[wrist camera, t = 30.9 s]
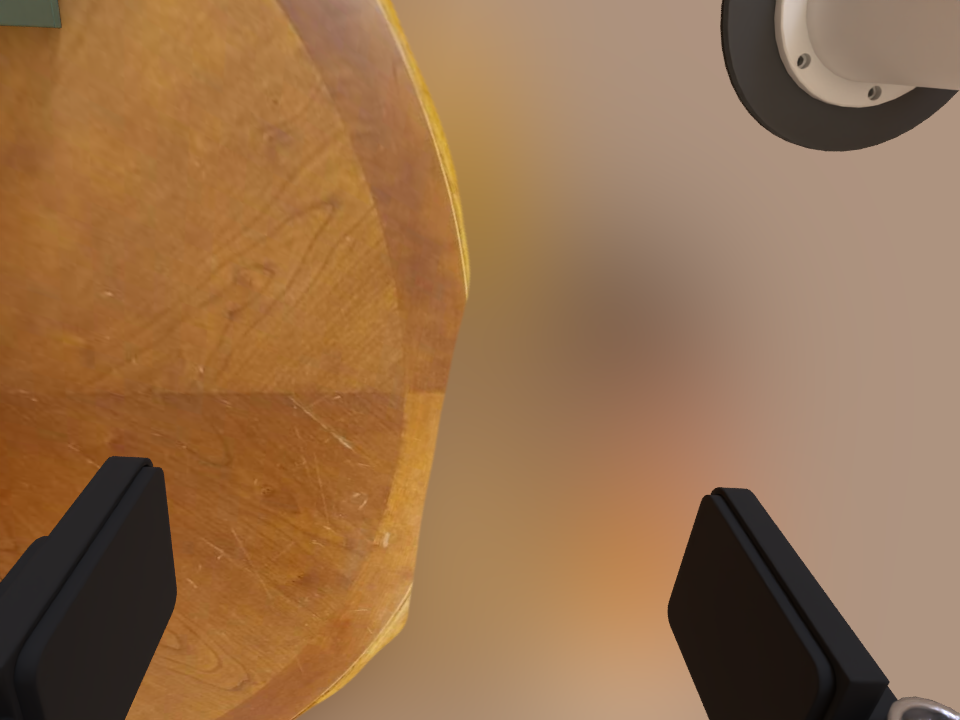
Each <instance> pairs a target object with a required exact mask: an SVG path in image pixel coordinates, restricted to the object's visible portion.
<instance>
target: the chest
mask: <svg viewBox="0 0 960 720" xmlns="http://www.w3.org/2000/svg"><path fill="white" fill-rule="evenodd" d="M0 26H21V27H46V28H61V21H60V14H59V7H58V0H0Z"/></svg>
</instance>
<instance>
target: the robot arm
mask: <svg viewBox="0 0 960 720" xmlns="http://www.w3.org/2000/svg"><path fill="white" fill-rule="evenodd" d="M774 22H775V38H776V42H777V46H778V50H779V54H780V58H781V60H782V62H783V64H784V66H785V68H786V70H787V72H788V74H789V75H790V76H791V78H792V79H793V80H794V81H795V83H796V84H797V85H798V86H799V87H800V88H801V89H802V90H804V91H805V92H806V93H808V94H809V95H810V96H811V97H813V98H816V99H818V100H820V101H822V102H825V103H827V104H832V105H837V106H842V107H858V108H860V107H869V106H875V105H879V104H882V103H885V102H888V101H890V100H893V99H896V98H898V97H900V96H902V95H903V94H905V93H907V92H909V91H911V90H913V89H914V88H915V87H928V88H939V89H950V90H960V0H776V6H775V15H774ZM798 58H800V62H799V64H798V65H797V61H798ZM869 91H870V92H869ZM868 93H869V94H868ZM176 595H177V587H176V578H175V569H174V560H173V551H172V542H171V533H170V524H169V515H168V506H167V497H166V489H165V480H164V473H163V470H162V468H160V467H153V464H152V462H151V460H150V459H149V458H139V457H120V456H112V457H109V458H108V459H107V460H106V461H105V463H104V464H103V465H102V467H101V468H100V469H99V470H98V472H97V473H96V474H95V476H94V477H93V478H92V480H91V481H90V482H89V484H88V485H87V486H86V487H85V489H84V490H83V491H82V493H81V494H80V495H79V497H78V498H77V499H76V500H75V502H74V503H73V504H72V506H71V507H70V508H69V510H68V511H67V512H66V513H65V515H64V516H63V517H62V519H61V520H60V521H59V523H58V524H57V525H56V527H55V528H54V529H53V530H52V532H51V533H50V534H49V536H43V537H40V538H38V539H36V540H35V541H34V542H33V543H32V544H31V545H30V546H29V547H28V549H27V550H26V551H25V552H24V554H23V555H22V556H21V557H20V559H19V560H18V561H17V563H16V564H15V565H14V566H13V568H12V569H11V570H10V571H9V573H8V574H7V575H6V576H5V578H4V579H3V580H2V582H1V583H0V720H125V718H126V716H127V713H128V711H129V709H130V707H131V704H132V702H133V700H134V698H135V695H136V693H137V691H138V689H139V686H140V684H141V682H142V680H143V677H144V675H145V673H146V671H147V668H148V666H149V664H150V662H151V659H152V657H153V655H154V653H155V651H156V648H157V646H158V644H159V642H160V639H161V637H162V635H163V633H164V630H165V628H166V626H167V624H168V621H169V619H170V617H171V615H172V612H173V610H174V606H175V602H176ZM668 619H669V623H670V626H671V629H672V631H673V634H674V636H675V638H676V641H677V643H678V645H679V648H680V650H681V653H682V655H683V658H684V660H685V662H686V665H687V667H688V670H689V672H690V674H691V677H692V679H693V682H694V684H695V686H696V689H697V691H698V693H699V696H700V698H701V701H702V703H703V706H704V708H705V710H706V713H707V715H708V718H709V720H960V714H959V713H957V712H956V711H955V710H953V709H951V708H950V707H947V706H945V705H942V704H940V703H938V702H935V701H933V700H929V699H924V698H919V697H905V698H901V699H899V700H897V698H896V697H895V696H894V694H893V693H892V691H891V690H890V689H889V687H888V684H889V680H888V679H887V677H886V676H885V675H884V673H883V672H882V670H881V669H880V668H879V666H878V665H877V664H876V662H875V661H874V659H873V658H872V657H871V655H870V654H869V653H868V651H867V650H866V648H865V647H864V646H863V644H862V643H861V641H860V640H859V639H858V637H857V636H856V635H855V633H854V632H853V630H852V629H851V628H850V626H849V625H848V624H847V622H846V621H845V619H844V618H843V617H842V615H841V614H840V612H839V611H838V610H837V608H836V607H835V606H834V605H833V603H832V602H831V600H830V599H829V597H828V596H827V595H826V593H825V592H824V590H823V589H822V588H821V586H820V585H819V584H818V582H817V581H816V579H815V578H814V577H813V575H812V574H811V573H810V571H809V570H808V568H807V567H806V566H805V564H804V563H803V561H802V560H801V559H800V557H799V556H798V555H797V553H796V552H795V550H794V549H793V548H792V546H791V545H790V543H789V542H788V541H787V539H786V538H785V537H784V535H783V534H782V532H781V531H780V530H779V528H778V527H777V525H776V524H775V523H774V521H773V520H772V519H771V517H770V516H769V515H768V513H767V512H766V510H765V509H764V508H763V506H762V505H761V503H760V502H759V501H758V499H757V498H756V496H755V495H754V494H753V493H752V492H751V491H750V490H748V489H741V488H740V489H739V488H722V487H718V488H715V489H714V490H713V491H712V493H711V495H705V496H704V497H703V499H702V501H701V504H700V507H699V510H698V513H697V516H696V519H695V523H694V525H693V529H692V531H691V535H690V538H689V541H688V544H687V547H686V550H685V553H684V556H683V559H682V563H681V566H680V569H679V572H678V575H677V578H676V581H675V584H674V587H673V591H672V594H671V597H670V600H669V604H668Z"/></svg>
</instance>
